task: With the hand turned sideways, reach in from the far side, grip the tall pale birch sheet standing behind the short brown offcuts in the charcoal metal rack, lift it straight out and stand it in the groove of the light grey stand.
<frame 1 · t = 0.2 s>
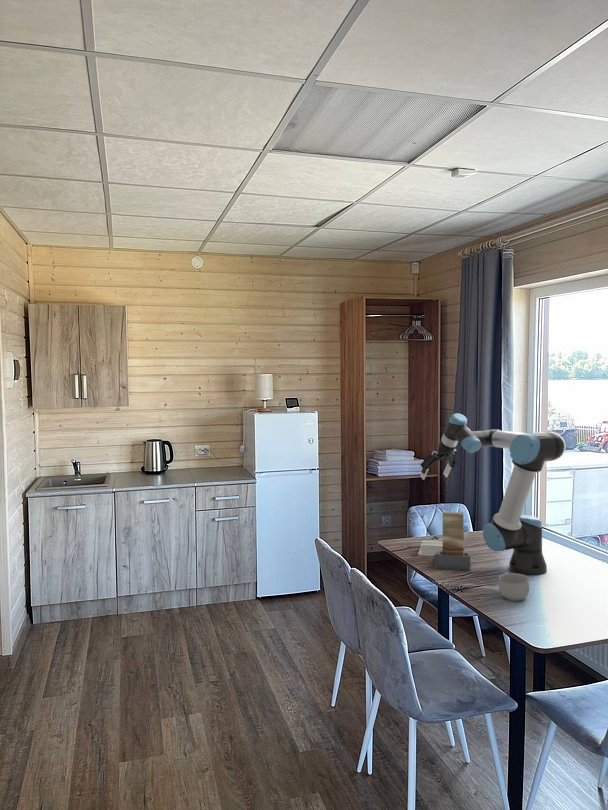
hand: (433, 476, 296), 35 cm above the table, tool tilted 35°, fingers open, 13 cm apart
birch sheet: (453, 561, 269), point 1 cm above the table, touching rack
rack: (453, 568, 264), on the table
stand: (434, 556, 283), on the table
teacup: (513, 597, 229), on the table
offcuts: (453, 565, 263), point 1 cm above the table, touching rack
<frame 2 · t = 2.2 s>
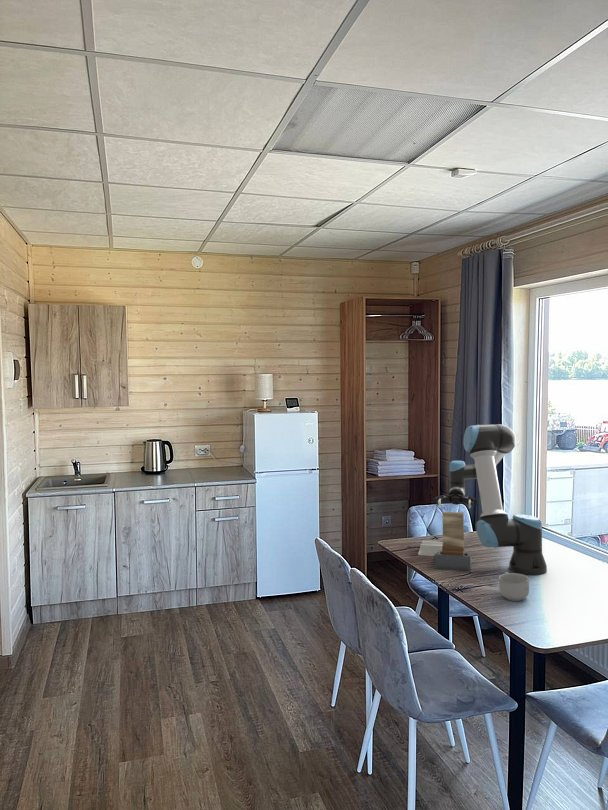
hand: (454, 505, 277), 25 cm above the table, tool horizontal, fingers open, 13 cm apart
nothing on the table moved.
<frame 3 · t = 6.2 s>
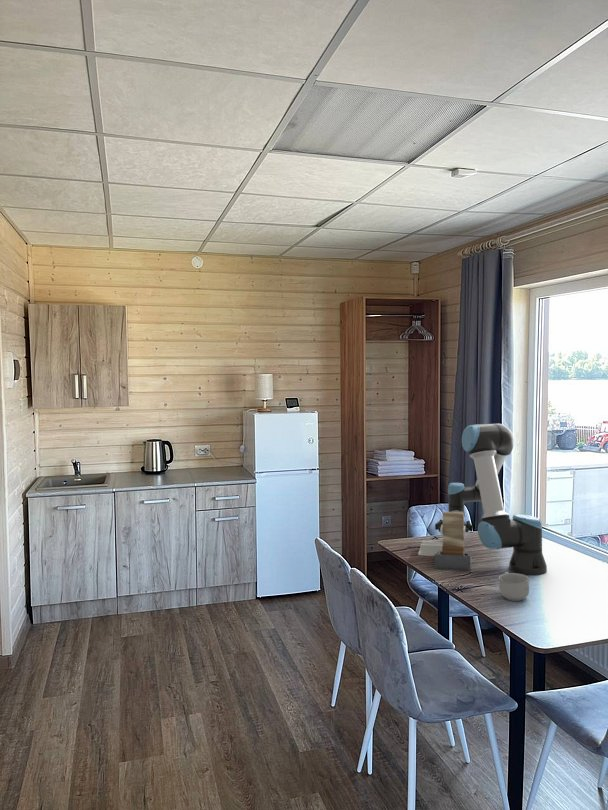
hand: (452, 532, 264), 16 cm above the table, tool horizontal, fingers closed on birch sheet, 9 cm apart
birch sheet: (453, 561, 269), point 2 cm above the table, touching gripper, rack
everything else where it was.
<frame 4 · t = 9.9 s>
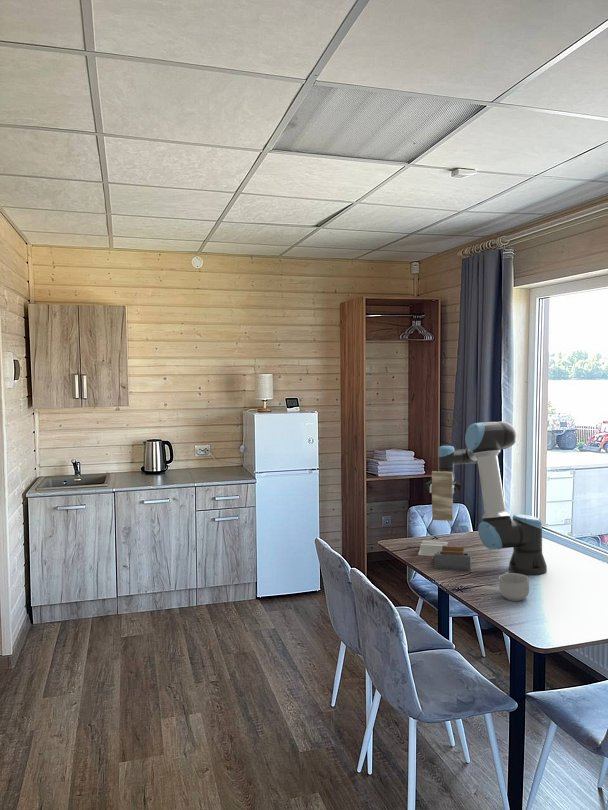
hand: (441, 490, 270), 33 cm above the table, tool horizontal, fingers closed on birch sheet, 9 cm apart
birch sheet: (442, 519, 276), point 19 cm above the table, touching gripper
everything else where it was.
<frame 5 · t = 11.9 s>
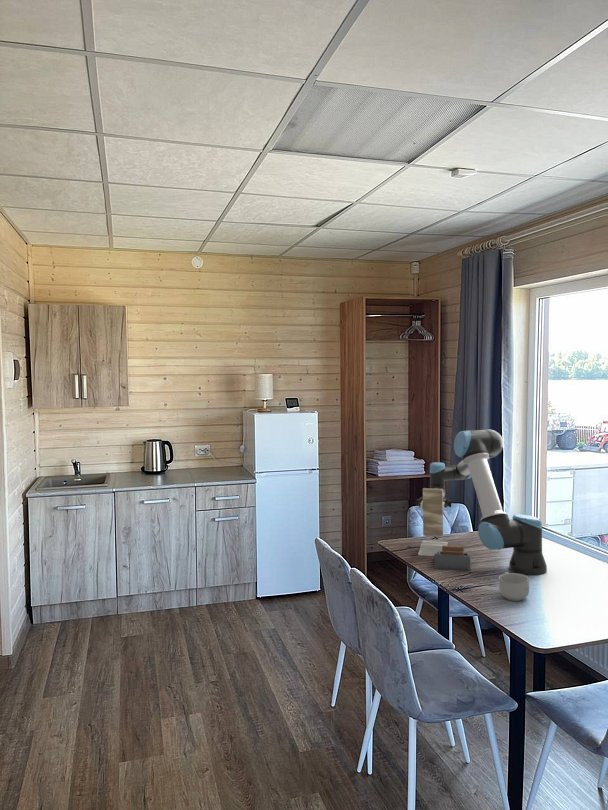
hand: (432, 507, 278), 24 cm above the table, tool horizontal, fingers closed on birch sheet, 9 cm apart
birch sheet: (433, 535, 283), point 10 cm above the table, touching gripper
everything else where it was.
when the fingers open (18 cm above the table, at t = 13.5 s): birch sheet drops 1 cm, resting on stand.
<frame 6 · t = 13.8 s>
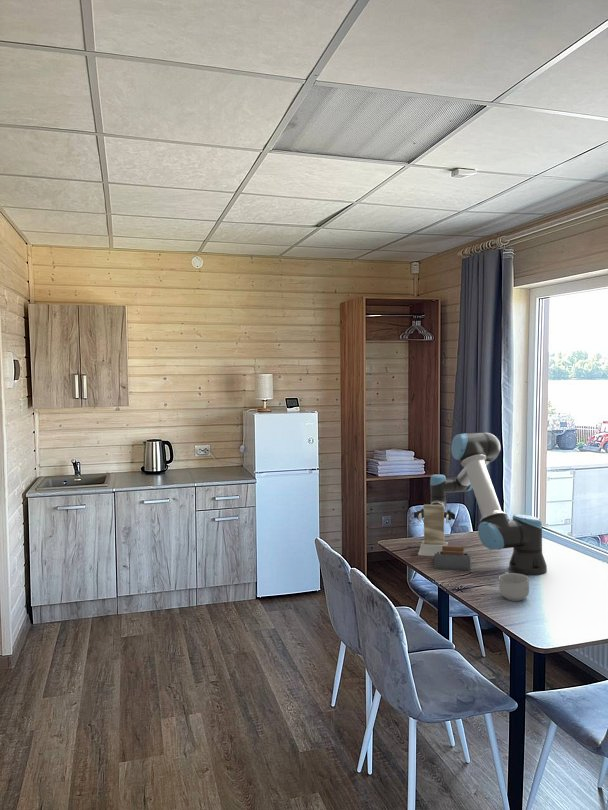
hand: (432, 519, 278), 18 cm above the table, tool horizontal, fingers open, 12 cm apart
birch sheet: (434, 551, 283), point 2 cm above the table, touching stand
everything else where it was.
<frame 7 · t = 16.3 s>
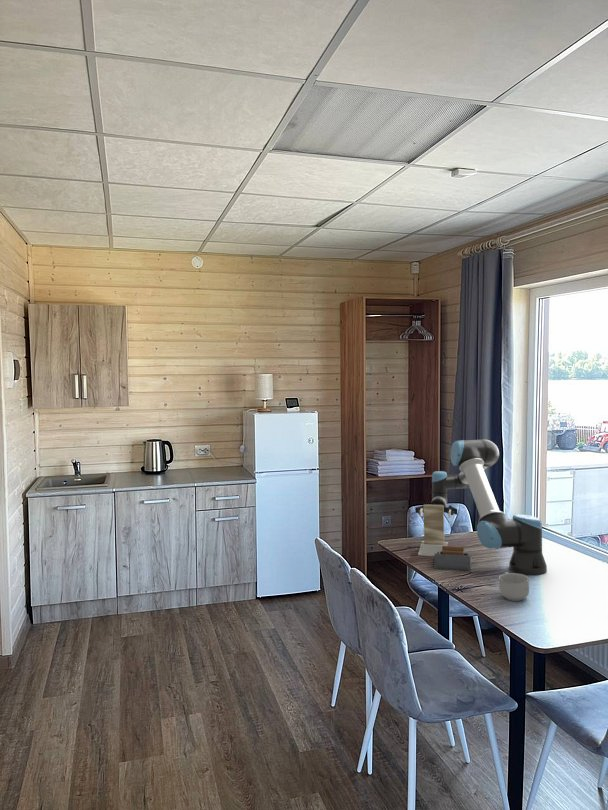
hand: (434, 514, 288), 18 cm above the table, tool horizontal, fingers open, 13 cm apart
nothing on the table moved.
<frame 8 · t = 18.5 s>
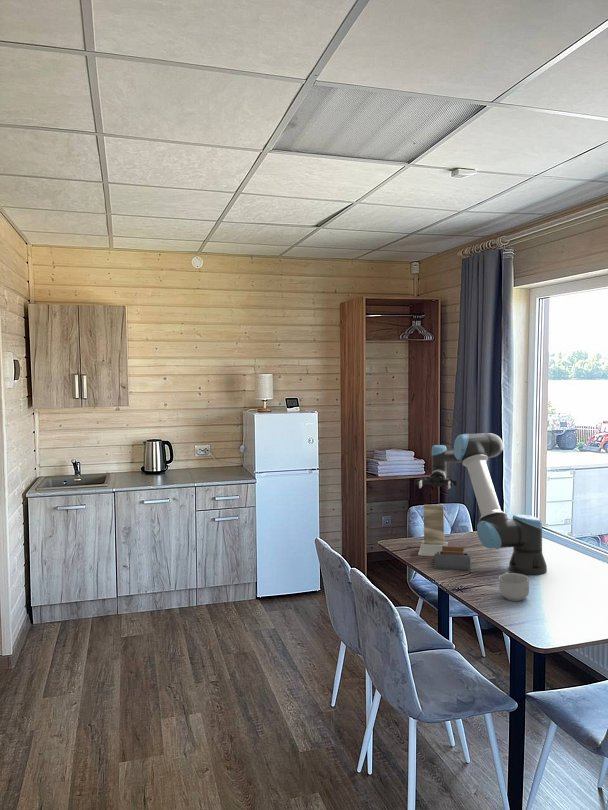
hand: (434, 485, 288), 32 cm above the table, tool horizontal, fingers open, 13 cm apart
nothing on the table moved.
at the end: birch sheet 0.1 cm off-centre on the stand, point 2.0 cm above the stand's base; birch sheet tilted 0°; the gripper is holding nothing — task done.
